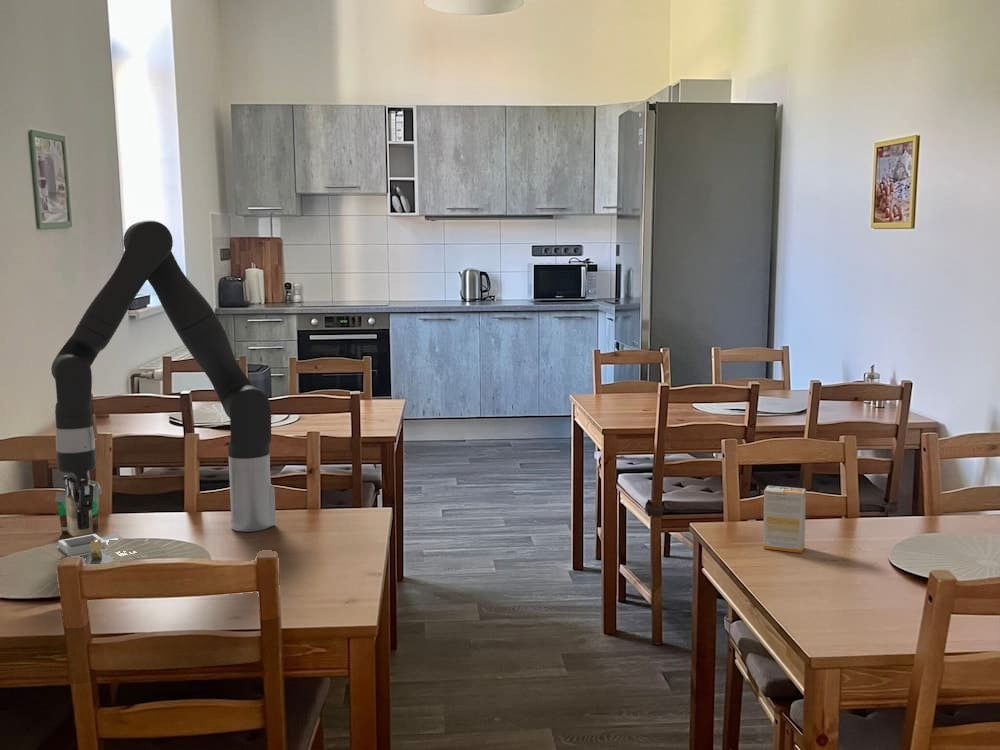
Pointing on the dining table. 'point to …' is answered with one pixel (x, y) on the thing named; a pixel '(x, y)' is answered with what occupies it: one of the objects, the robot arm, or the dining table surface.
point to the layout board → (89, 548)
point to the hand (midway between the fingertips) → (80, 526)
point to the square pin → (75, 518)
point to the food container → (62, 507)
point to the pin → (96, 550)
